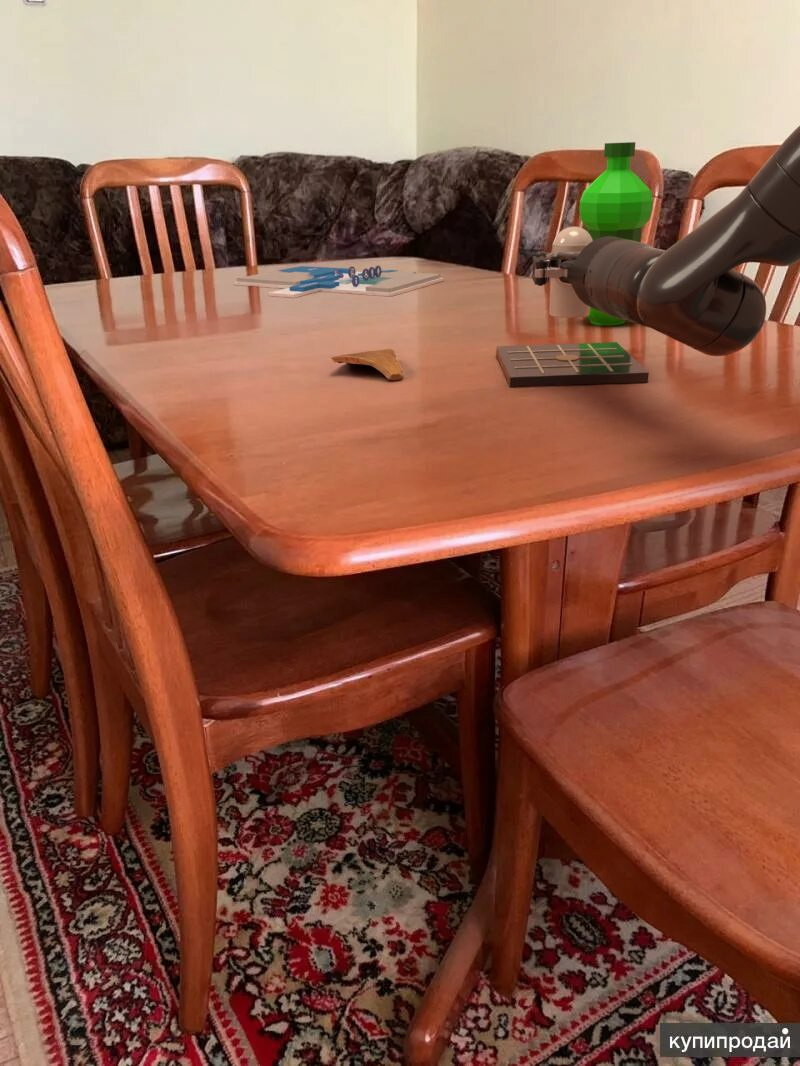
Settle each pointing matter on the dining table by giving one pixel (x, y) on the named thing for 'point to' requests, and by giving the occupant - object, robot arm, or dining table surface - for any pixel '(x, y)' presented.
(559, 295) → the dome-topped cylinder
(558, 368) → the board
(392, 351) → the pottery shard
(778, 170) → the robot arm
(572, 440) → the dining table surface
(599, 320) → the plastic bottle
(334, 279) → the relief map
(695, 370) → the dining table surface
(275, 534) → the dining table surface
